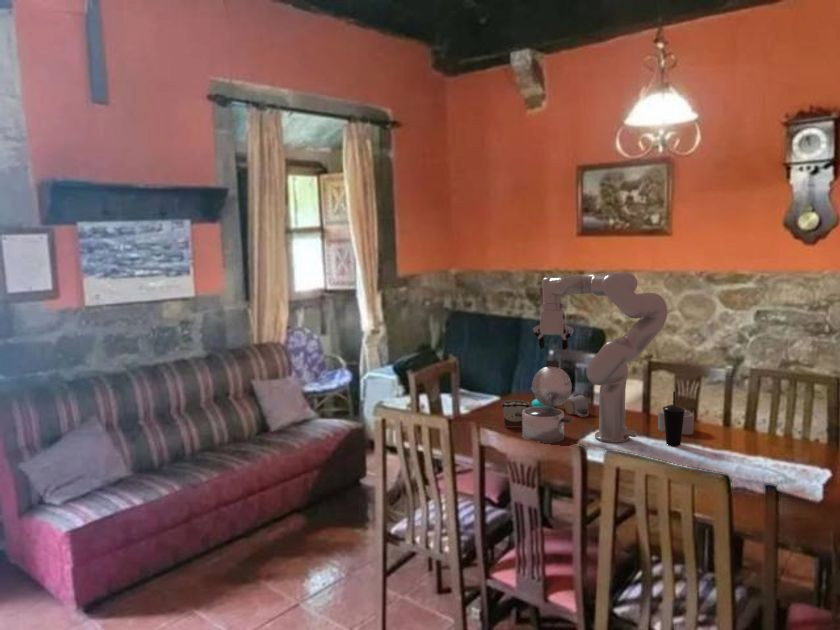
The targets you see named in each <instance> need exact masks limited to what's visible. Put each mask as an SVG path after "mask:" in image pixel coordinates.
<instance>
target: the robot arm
mask: <svg viewBox="0 0 840 630" xmlns="http://www.w3.org/2000/svg"><path fill="white" fill-rule="evenodd" d="M541 283H542V285H541V286H542V310H541V313H540V319H539V320H540V322H539V324H538V325H536V326H534V327H533V328H532V330H533V332H534V335H535V336H536V337H537V340H538V345H539V349H542V350H543V349H544V348H545V344H546V343H545V341H546V340H545V338H544V337H545V336H546V335H547V336H560V337H561V338H562V340H561V342H562V343H561V344H562V345H561V346H562V348H561V349H562V350H564V351H565V350H567V349H568V346H569V343H568V340H569V338H570V337H571V336H572V335H573V333H574V328H573V327H571V326H569V325H568V324H567V320H566V319H567V318H566V314H565V313H566V312H565V310H564V308H566V305H565V304H564V303H563V302H562V301H563V300H562V296H563V297H564V296H573V295H581V294H582V295H585V294H594V296H597V297H598V296H599V297H601V296H602V297H603V296H604V297H605V296H606V297H607V299H608V300H610V301H611V302H612V303H613V304H614V305H615V306H616V307H617V308H618V309H619V310H620V311H621V312H622V313H623V314H624V315H625V316H627V317H629V318H631V319H638V320H637V321H635V323H634V324H633V325H632V326H631V327H630V329H628V331H627V332H626V333H625V334H624V335H623V336H621V337H618V338H615V339H614V338H613V339H611V340H609V341H607V342H606V343H605V344H603V346H602V347H601V348H600V349H599V351H598V352H597V353H596V354H595V356H594V357H593V358H592V360H591V361H590V362H589V364H588V366H587V367H586V377H587V379H588V381H589V382H590V383H591V384H593V385H595V386H600V387H599V395H598V396H599V397H598V398H599V399H598V403H599V404H598V406H599V407H598V414H599V415H598V418H599V419H598V431H597V432H595V433H594V438H595V439H596V440H597V441H598V440H599V441H601V442H606V443H613V444H614V443H616V444H617V443H624V442H628V441H629V439H630V437H631V438H637V434H638V433H637V432H636V431H635V430H633V429H632V430H631V429H630V430H629V429H628V425H626V389H627V388H626V387H627V386H626V385H627V380H628V375H629V367H628V364H629V363H632V362H634V361H637V359H638V358H639V357H640V355H641V354H642V353H643V352H644V350H645V349H646V348H647V347H648V346H649V345H650V343H651V341H653V340H654V338H655V337H656V336H657V335H658V334H659V332H660V331H661V330H662V328H663V327H664V325H665V323H666V321H667V318H668V307H667V302H666V300H665V299H664V298H663V297H662V296H661V295H660V294H658V293H656V292H643V293H636V292H635V291H636V290H637V287H638V279H637V277H636V276H635V275H634V274H632V273H631V272H625V271H624V272H607V273H606V272H605V273H601V272H600V273H595V274H580V275H576V274H575V275H567V276H566V275H565V276H546V277H543V279H542V282H541ZM567 331H568V333H567Z"/></svg>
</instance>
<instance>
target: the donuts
mask: <svg viewBox="0 0 840 630" xmlns="http://www.w3.org/2000/svg"><path fill="white" fill-rule="evenodd" d="M531 391H532V392H533V390H532V389H531ZM531 407H549V406H545V405H543V404H541V403H540V402H539V401H538V400H537V399H536V398H535V399H533V400H532V401H531Z"/></svg>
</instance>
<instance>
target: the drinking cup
mask: <svg viewBox="0 0 840 630" xmlns="http://www.w3.org/2000/svg"><path fill="white" fill-rule="evenodd" d="M672 398H673V399H672V404H669V405H665V406H663V407H662V409H663V410H664V420H665V444H666V445H667V444H668V445H667V446H669V445H671V446H670V447H680V446H681V443H682V442H681V441H682V427H683V418H684V411H685V409H686V408H685V407H683V406H680V405H678V404H676V390H673V393H672Z"/></svg>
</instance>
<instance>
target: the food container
mask: <svg viewBox="0 0 840 630" xmlns="http://www.w3.org/2000/svg"><path fill="white" fill-rule="evenodd" d="M531 407H532V405H531V404H530V402H529V401H526V400H522V399H509V400H504V401H502V402H501V405H500V408H501V409H502V417H503V424H504V428H522V417H517V416H515V413H516V412H522V411H523V410H524V409H526V408H531Z"/></svg>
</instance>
